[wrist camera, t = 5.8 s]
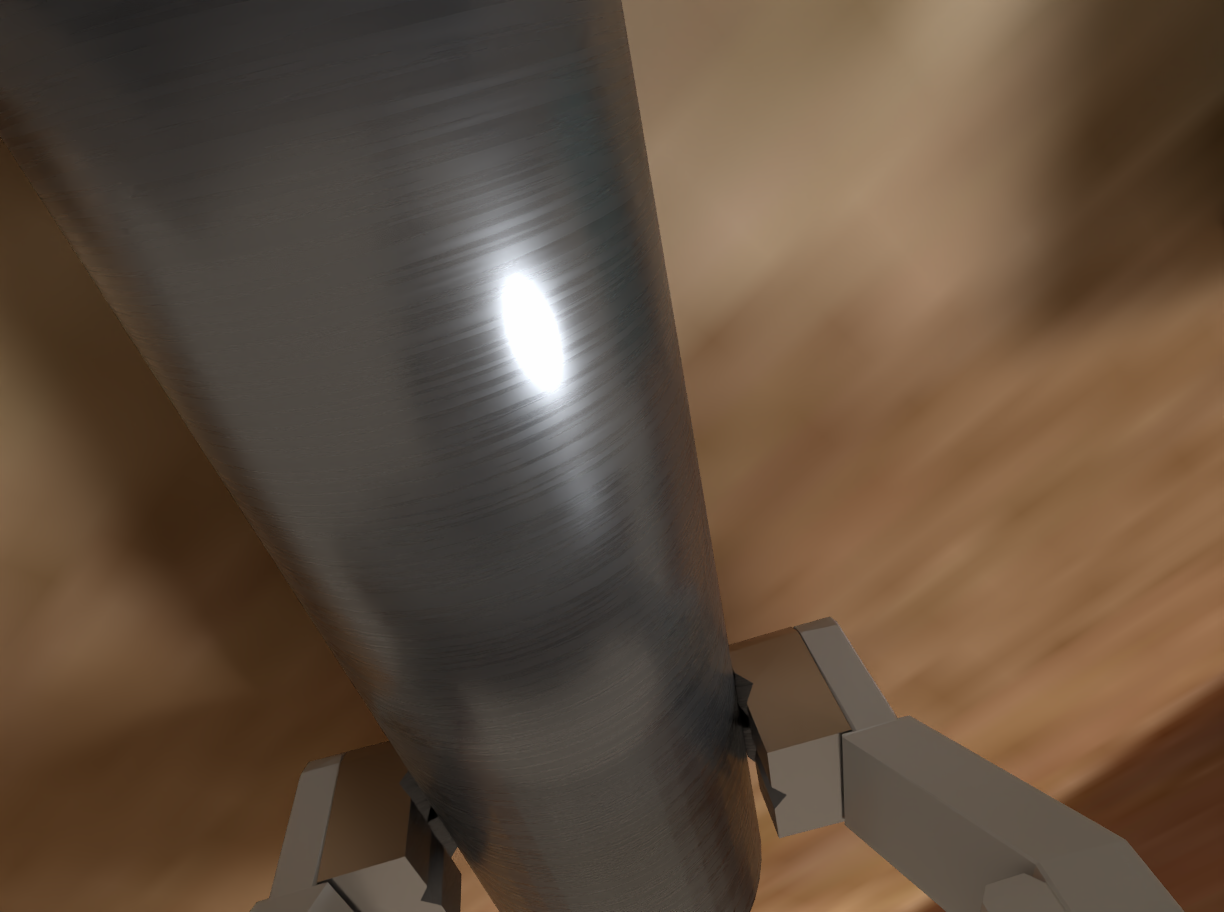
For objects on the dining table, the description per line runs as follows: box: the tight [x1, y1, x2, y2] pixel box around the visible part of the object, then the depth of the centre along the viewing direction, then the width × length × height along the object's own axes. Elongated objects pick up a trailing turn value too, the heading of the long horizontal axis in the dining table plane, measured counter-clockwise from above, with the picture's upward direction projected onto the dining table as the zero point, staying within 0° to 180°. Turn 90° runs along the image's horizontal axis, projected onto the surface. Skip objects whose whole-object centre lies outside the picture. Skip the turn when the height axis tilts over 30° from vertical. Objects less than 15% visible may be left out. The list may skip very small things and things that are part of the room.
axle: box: [0, 0, 761, 912], centre depth 7 cm, size 14×4×4 cm, turn 12°
